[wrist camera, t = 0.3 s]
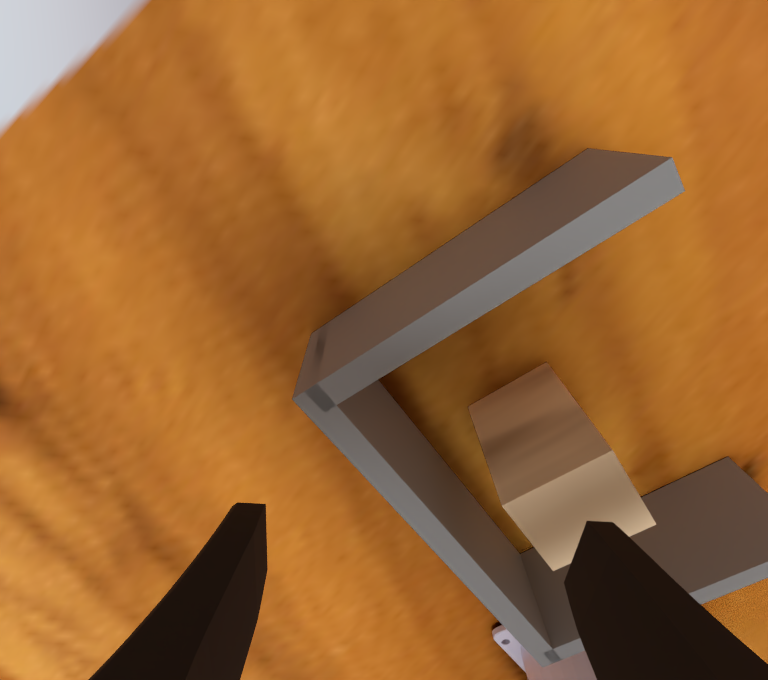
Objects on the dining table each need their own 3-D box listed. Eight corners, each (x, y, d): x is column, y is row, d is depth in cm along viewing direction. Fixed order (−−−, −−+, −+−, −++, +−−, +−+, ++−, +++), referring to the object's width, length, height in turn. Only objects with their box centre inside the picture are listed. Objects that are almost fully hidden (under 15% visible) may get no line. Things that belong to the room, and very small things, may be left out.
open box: (733, 469, 23) (824, 555, 18) (512, 571, 25) (542, 667, 21) (587, 148, 16) (672, 157, 12) (311, 333, 19) (292, 398, 14)
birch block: (584, 423, 21) (656, 524, 16) (508, 462, 22) (553, 571, 17) (546, 361, 20) (612, 450, 14) (467, 406, 21) (501, 505, 15)
